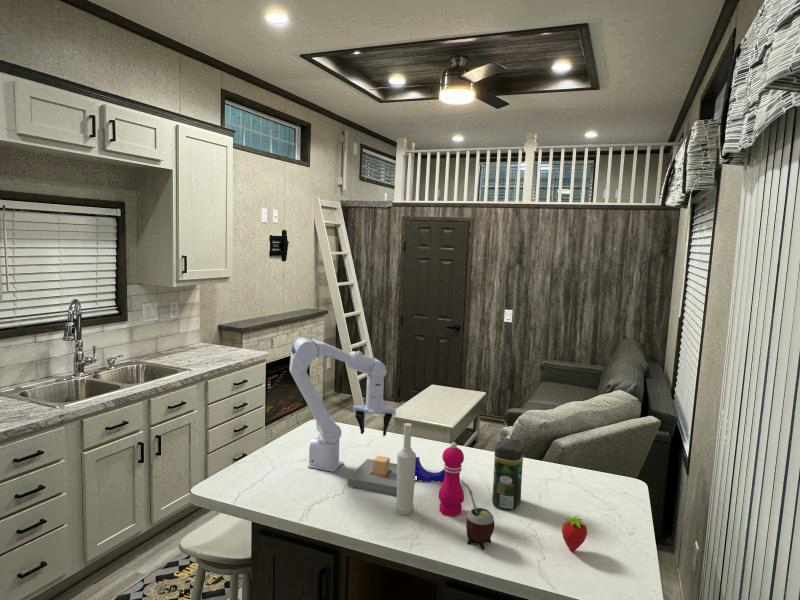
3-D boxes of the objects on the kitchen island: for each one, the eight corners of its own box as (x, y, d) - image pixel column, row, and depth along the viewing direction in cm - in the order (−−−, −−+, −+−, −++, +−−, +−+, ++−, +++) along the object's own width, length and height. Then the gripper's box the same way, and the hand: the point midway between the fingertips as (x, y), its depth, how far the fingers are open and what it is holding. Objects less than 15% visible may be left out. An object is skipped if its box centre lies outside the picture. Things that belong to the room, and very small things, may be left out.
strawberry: (588, 548, 136) (591, 510, 135) (581, 562, 129) (584, 523, 128) (564, 540, 139) (567, 503, 138) (556, 554, 132) (559, 515, 131)
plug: (372, 481, 169) (373, 460, 168) (377, 476, 173) (377, 455, 172) (384, 484, 168) (385, 462, 167) (388, 478, 171) (389, 457, 171)
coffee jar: (496, 493, 164) (499, 434, 162) (522, 499, 161) (526, 438, 159) (488, 507, 155) (492, 444, 153) (516, 513, 152) (520, 450, 150)
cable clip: (410, 480, 171) (411, 461, 171) (414, 474, 176) (414, 456, 175) (448, 485, 168) (449, 467, 168) (450, 479, 173) (451, 461, 172)
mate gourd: (497, 549, 134) (501, 491, 132) (467, 551, 132) (470, 493, 131) (486, 533, 141) (489, 478, 139) (457, 535, 139) (460, 479, 138)
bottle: (416, 508, 153) (419, 422, 150) (410, 517, 148) (414, 428, 145) (398, 505, 154) (402, 420, 152) (392, 513, 149) (395, 425, 147)
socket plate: (347, 485, 165) (347, 478, 165) (367, 466, 180) (367, 458, 180) (396, 495, 160) (397, 487, 160) (412, 474, 175) (413, 466, 175)
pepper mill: (446, 519, 147) (449, 448, 145) (432, 507, 153) (435, 439, 151) (468, 514, 150) (472, 445, 148) (454, 503, 157) (457, 436, 155)
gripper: (351, 396, 180) (349, 436, 181) (394, 400, 178) (392, 440, 179) (356, 390, 187) (354, 429, 188) (397, 394, 184) (396, 432, 186)
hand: (373, 433), depth 184 cm, fingers open, 7 cm apart
